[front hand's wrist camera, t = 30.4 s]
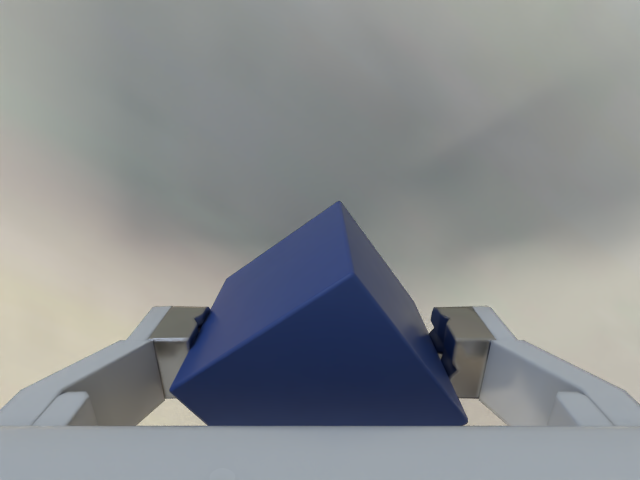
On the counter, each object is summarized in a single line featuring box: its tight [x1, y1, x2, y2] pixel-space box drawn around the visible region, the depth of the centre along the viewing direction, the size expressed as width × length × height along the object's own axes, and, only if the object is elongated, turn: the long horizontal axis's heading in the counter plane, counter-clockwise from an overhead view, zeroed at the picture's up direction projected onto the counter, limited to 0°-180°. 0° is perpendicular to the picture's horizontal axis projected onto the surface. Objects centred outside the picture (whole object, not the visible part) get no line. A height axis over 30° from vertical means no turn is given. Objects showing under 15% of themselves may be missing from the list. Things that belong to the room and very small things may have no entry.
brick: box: [169, 201, 468, 426], centre depth 10 cm, size 4×5×5 cm
